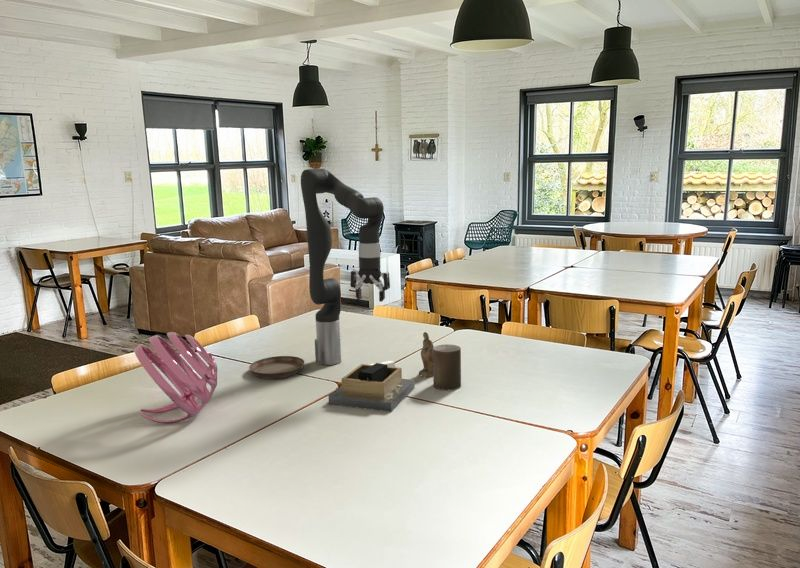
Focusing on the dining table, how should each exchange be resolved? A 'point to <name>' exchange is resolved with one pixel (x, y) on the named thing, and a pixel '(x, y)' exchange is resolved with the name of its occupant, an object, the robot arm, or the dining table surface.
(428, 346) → the worn brown figurine
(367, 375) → the digital camera
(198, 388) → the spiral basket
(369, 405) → the square wooden box
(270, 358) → the plant saucer
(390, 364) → the white offset rectangular block
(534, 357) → the dining table surface
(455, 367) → the pillar candle
